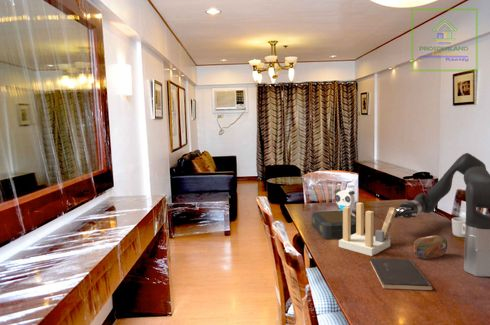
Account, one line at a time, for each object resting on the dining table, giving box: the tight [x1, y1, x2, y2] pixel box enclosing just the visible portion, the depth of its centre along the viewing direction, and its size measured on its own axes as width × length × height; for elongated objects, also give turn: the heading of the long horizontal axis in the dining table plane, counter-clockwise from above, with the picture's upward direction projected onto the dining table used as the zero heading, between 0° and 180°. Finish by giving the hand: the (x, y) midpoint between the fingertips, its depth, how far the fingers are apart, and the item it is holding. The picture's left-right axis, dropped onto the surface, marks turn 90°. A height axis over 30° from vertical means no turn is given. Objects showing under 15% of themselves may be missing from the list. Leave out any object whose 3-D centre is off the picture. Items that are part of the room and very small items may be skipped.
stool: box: [338, 201, 391, 257], centre depth 158 cm, size 16×18×18 cm
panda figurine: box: [333, 188, 356, 217], centre depth 211 cm, size 12×11×15 cm
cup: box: [451, 216, 466, 238], centre depth 167 cm, size 11×8×8 cm
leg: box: [380, 206, 397, 240], centre depth 161 cm, size 2×2×15 cm
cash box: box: [311, 210, 356, 240], centre depth 182 cm, size 25×20×8 cm
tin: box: [412, 235, 448, 260], centre depth 145 cm, size 15×3×8 cm, turn 105°
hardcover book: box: [368, 257, 434, 291], centre depth 129 cm, size 16×23×2 cm
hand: (393, 215), depth 164 cm, fingers closed
